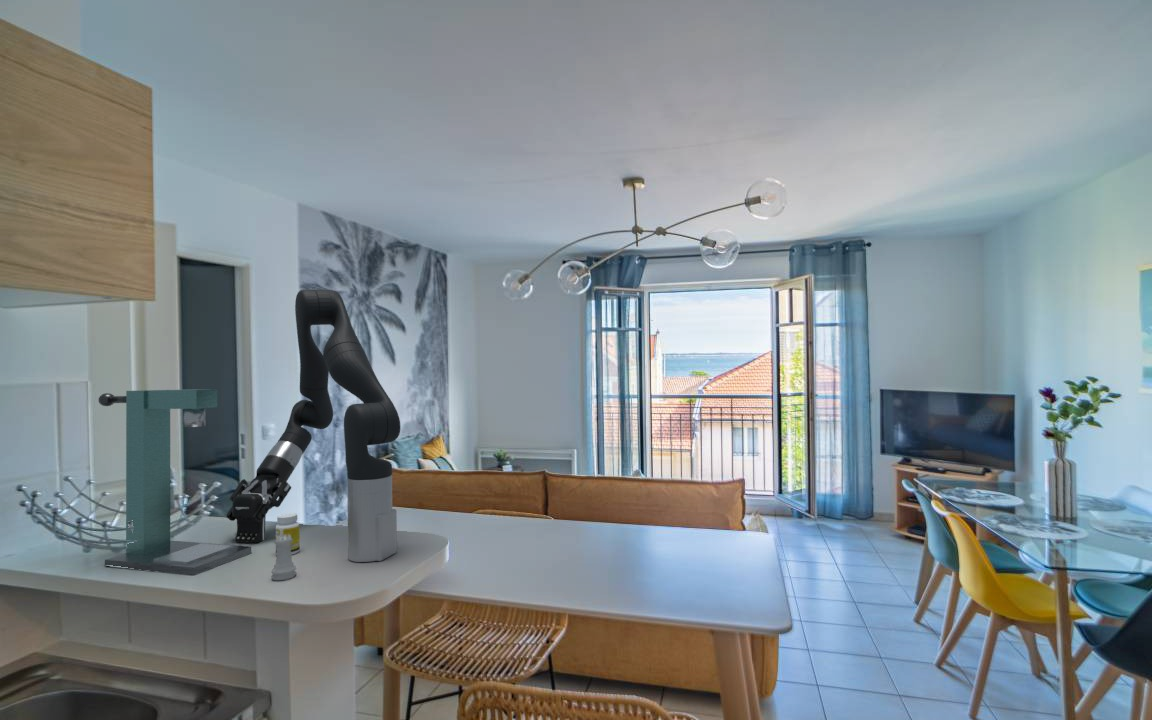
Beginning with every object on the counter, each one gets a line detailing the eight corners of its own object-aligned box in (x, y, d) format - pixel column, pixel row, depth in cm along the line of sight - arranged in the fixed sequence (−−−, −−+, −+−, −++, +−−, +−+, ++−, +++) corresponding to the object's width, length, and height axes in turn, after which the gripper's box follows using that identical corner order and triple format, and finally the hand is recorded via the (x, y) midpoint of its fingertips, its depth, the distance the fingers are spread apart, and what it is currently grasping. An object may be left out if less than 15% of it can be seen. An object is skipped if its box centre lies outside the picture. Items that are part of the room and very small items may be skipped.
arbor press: (251, 553, 125) (250, 388, 126) (193, 575, 112) (193, 390, 113) (133, 543, 134) (133, 390, 135) (66, 563, 121) (67, 392, 122)
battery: (229, 543, 133) (229, 495, 133) (241, 539, 137) (241, 492, 137) (254, 545, 132) (254, 496, 132) (266, 540, 135) (266, 492, 136)
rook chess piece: (290, 571, 113) (290, 531, 113) (300, 576, 110) (300, 535, 110) (267, 578, 109) (266, 536, 110) (276, 583, 107) (276, 540, 107)
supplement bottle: (304, 549, 127) (303, 512, 127) (291, 556, 123) (291, 517, 123) (284, 549, 128) (283, 512, 128) (270, 556, 123) (270, 517, 123)
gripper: (249, 453, 144) (208, 509, 132) (295, 454, 140) (258, 512, 128) (265, 470, 149) (228, 526, 137) (311, 472, 145) (276, 529, 133)
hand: (242, 519), depth 133 cm, fingers closed on battery, 7 cm apart
